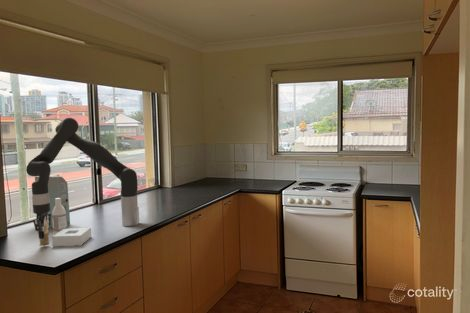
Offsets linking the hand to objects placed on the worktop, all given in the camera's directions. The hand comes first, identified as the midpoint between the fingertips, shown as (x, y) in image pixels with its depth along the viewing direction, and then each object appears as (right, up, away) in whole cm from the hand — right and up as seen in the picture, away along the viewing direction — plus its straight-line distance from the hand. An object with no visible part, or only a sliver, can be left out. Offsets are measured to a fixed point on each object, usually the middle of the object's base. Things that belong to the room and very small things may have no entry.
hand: (44, 236), depth 187 cm
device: (-14, -2, +41) cm, 43 cm away
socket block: (+11, -4, +8) cm, 14 cm away
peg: (0, -4, 0) cm, 4 cm away
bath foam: (-2, -3, +21) cm, 22 cm away
